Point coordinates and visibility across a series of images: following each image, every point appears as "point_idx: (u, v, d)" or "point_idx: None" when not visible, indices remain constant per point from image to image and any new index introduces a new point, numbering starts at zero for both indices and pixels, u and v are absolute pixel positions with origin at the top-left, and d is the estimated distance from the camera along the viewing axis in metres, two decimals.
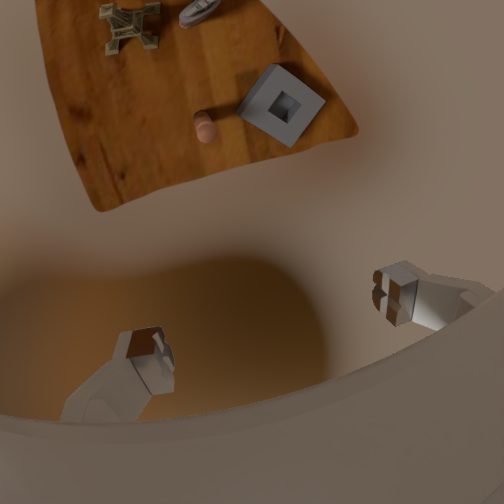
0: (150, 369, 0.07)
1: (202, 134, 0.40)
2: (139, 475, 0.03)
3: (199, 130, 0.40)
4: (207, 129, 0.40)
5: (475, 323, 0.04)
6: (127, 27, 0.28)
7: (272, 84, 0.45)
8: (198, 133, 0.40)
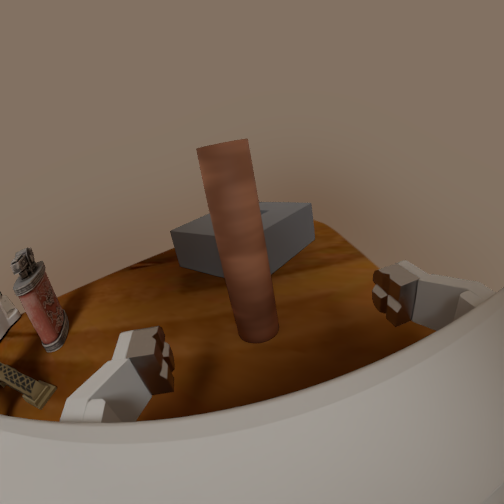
0: (150, 369, 0.07)
1: None
2: (139, 475, 0.03)
3: None
4: None
5: (475, 323, 0.04)
6: None
7: (199, 228, 0.33)
8: None
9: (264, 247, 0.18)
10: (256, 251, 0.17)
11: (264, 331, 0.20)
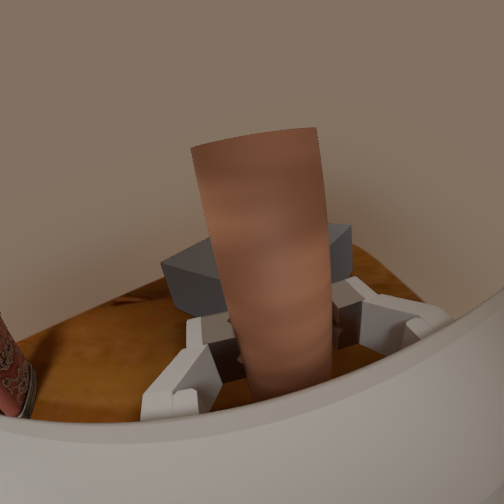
0: (228, 354, 0.08)
1: None
2: (139, 475, 0.03)
3: None
4: None
5: (475, 323, 0.04)
6: None
7: (199, 262, 0.23)
8: (237, 137, 0.05)
9: (331, 354, 0.09)
10: (320, 370, 0.08)
11: None
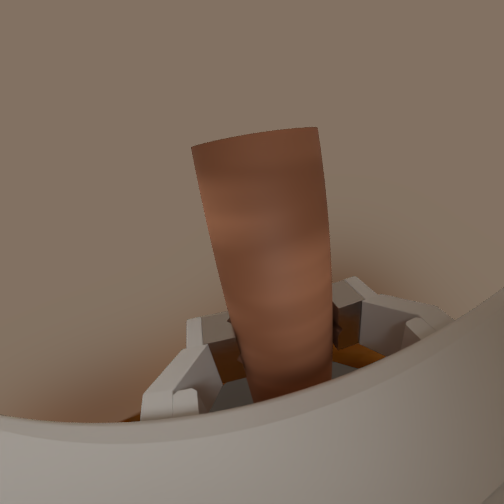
0: (228, 354, 0.08)
1: None
2: (139, 475, 0.03)
3: None
4: None
5: (475, 323, 0.04)
6: None
7: None
8: (239, 136, 0.05)
9: (331, 354, 0.09)
10: (320, 370, 0.08)
11: None
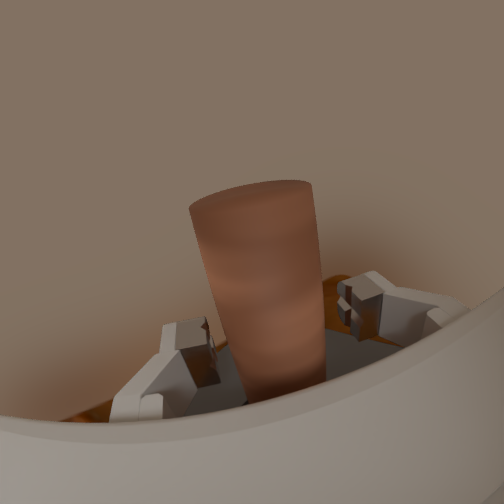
0: (200, 360, 0.08)
1: (248, 200, 0.06)
2: (139, 475, 0.03)
3: (214, 211, 0.06)
4: (222, 197, 0.07)
5: (475, 323, 0.04)
6: None
7: None
8: (234, 208, 0.06)
9: None
10: None
11: None
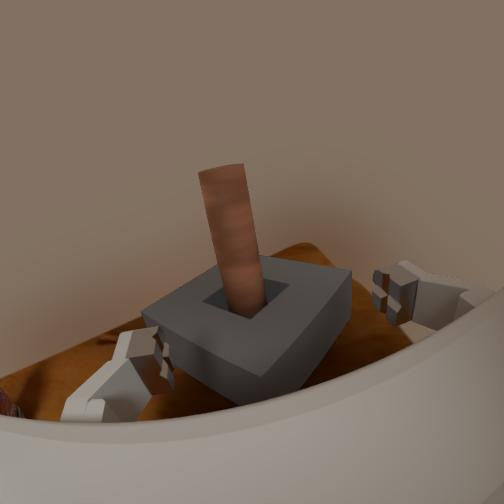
0: (150, 369, 0.07)
1: (219, 169, 0.18)
2: (139, 475, 0.03)
3: (207, 172, 0.17)
4: (210, 169, 0.19)
5: (475, 323, 0.04)
6: None
7: (181, 316, 0.20)
8: (213, 170, 0.17)
9: (258, 259, 0.20)
10: (250, 263, 0.20)
11: None
